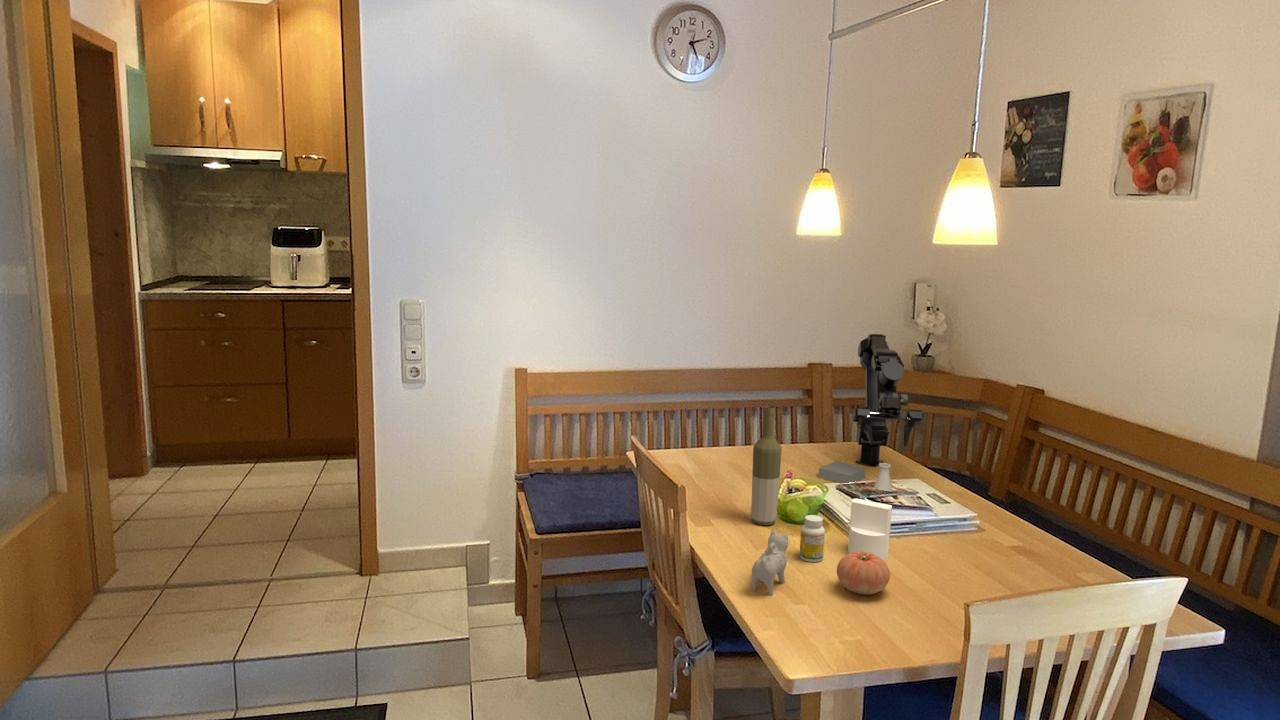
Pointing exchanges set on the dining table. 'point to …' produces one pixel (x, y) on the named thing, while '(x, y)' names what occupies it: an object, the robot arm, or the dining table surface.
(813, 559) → the supplement bottle
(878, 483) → the flask
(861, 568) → the pumpkin
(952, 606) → the dining table surface
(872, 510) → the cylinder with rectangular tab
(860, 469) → the dock
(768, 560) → the dog figurine
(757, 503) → the bottle
